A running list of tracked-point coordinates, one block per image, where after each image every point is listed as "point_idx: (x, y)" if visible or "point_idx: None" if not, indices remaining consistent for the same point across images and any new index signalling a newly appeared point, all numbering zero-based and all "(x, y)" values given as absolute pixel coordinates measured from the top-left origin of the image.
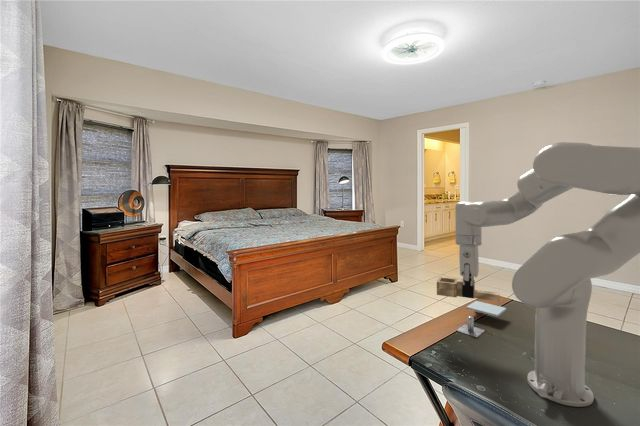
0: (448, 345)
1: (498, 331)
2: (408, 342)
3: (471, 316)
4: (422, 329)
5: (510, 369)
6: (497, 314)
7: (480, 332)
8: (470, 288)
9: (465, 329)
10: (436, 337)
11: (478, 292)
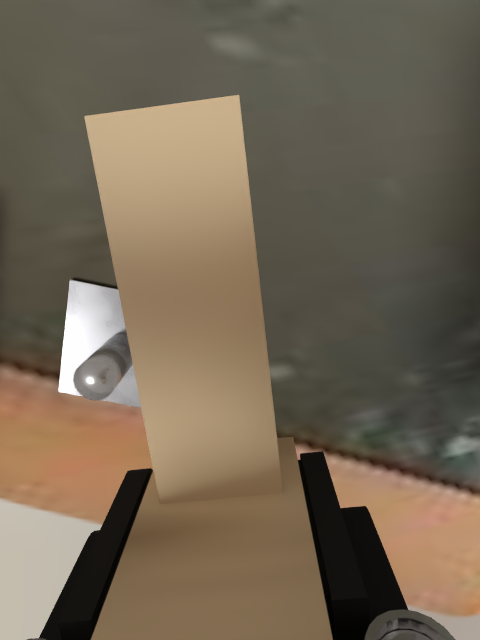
0: (362, 405)
1: (29, 211)
2: (427, 557)
3: (80, 377)
4: None
5: (463, 96)
6: None
7: (117, 297)
8: (400, 594)
9: (130, 374)
10: None
11: (271, 436)
